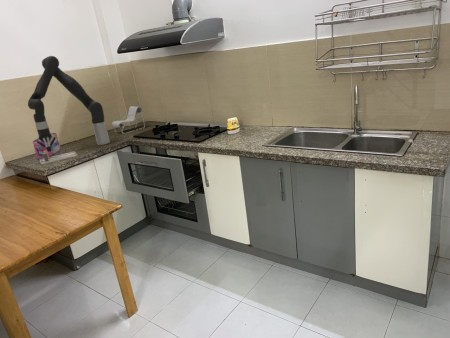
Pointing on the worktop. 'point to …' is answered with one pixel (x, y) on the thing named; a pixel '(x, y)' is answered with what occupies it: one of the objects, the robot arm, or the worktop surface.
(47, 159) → the fader charcoal
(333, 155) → the worktop surface
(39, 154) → the gum box
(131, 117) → the chair
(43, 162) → the console
